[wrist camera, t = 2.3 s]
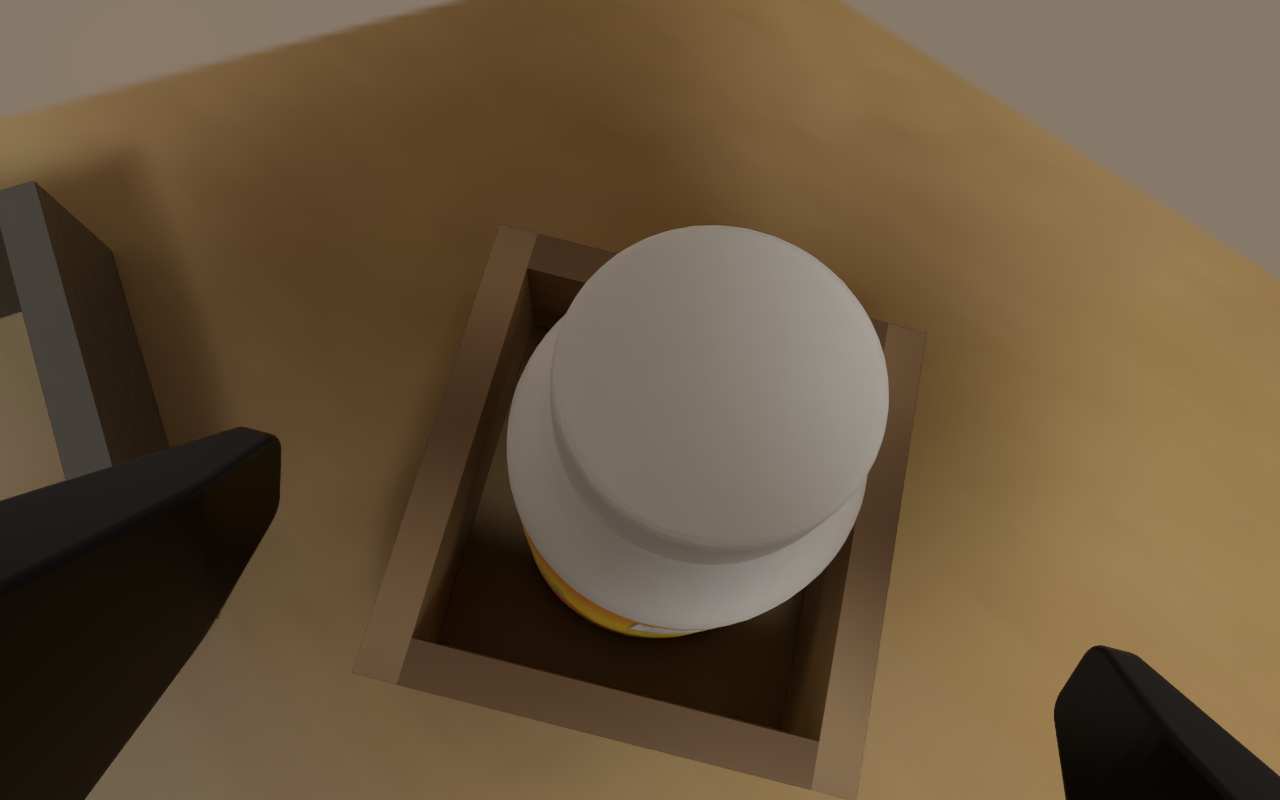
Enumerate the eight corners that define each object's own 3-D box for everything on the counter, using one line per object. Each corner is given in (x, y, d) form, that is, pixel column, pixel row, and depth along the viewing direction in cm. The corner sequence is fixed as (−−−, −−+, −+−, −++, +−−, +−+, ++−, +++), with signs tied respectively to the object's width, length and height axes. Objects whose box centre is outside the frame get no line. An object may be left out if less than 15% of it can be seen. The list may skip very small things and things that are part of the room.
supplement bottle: (510, 419, 20) (454, 199, 10) (739, 382, 20) (881, 143, 11) (548, 664, 18) (525, 664, 9) (794, 614, 19) (1012, 566, 9)
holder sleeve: (810, 779, 18) (856, 801, 15) (386, 671, 18) (351, 673, 15) (876, 378, 20) (926, 333, 18) (509, 285, 20) (499, 223, 18)
